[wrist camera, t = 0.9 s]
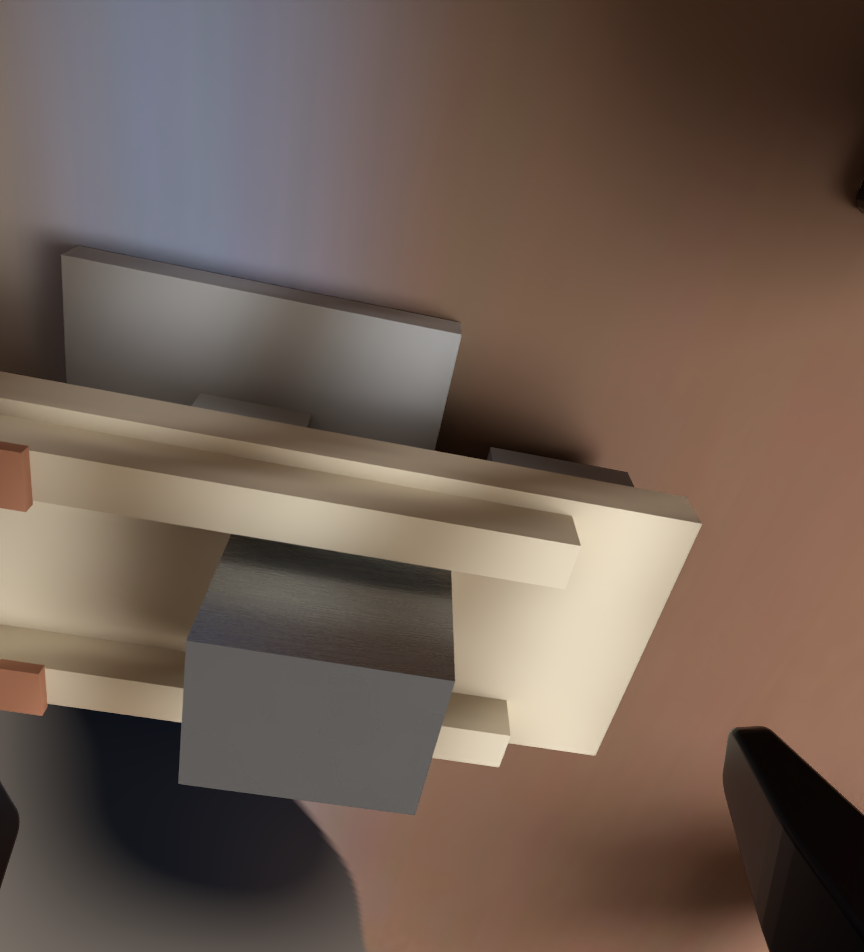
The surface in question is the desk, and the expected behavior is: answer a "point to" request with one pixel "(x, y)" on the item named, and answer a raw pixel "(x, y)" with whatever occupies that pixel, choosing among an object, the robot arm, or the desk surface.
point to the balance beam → (301, 503)
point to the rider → (317, 676)
